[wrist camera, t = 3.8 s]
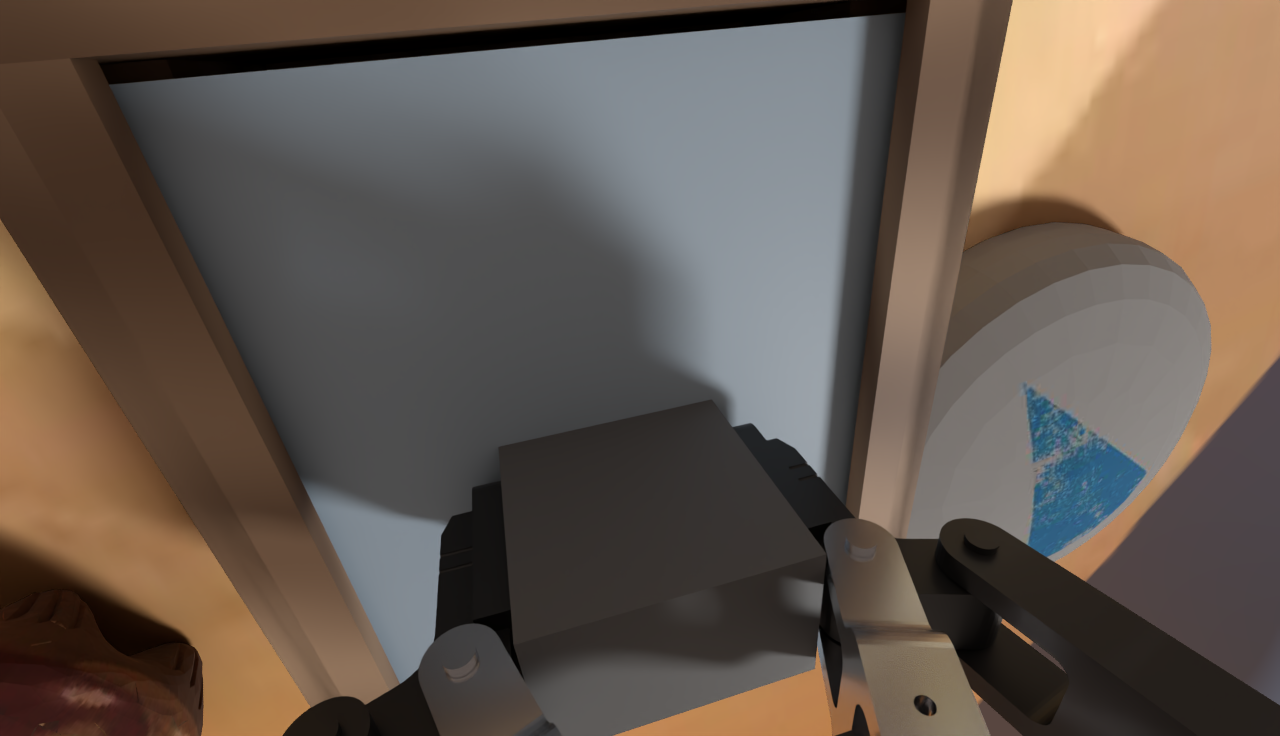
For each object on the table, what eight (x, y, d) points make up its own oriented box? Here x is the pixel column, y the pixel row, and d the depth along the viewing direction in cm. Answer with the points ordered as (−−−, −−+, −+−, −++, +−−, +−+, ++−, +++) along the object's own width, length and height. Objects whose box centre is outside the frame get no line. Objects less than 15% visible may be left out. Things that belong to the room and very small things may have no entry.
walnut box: (146, -29, 13) (-231, -146, 6) (796, -67, 16) (1046, -173, 9) (403, 584, 22) (374, 808, 15) (774, 488, 25) (886, 639, 18)
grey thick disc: (1105, 119, 21) (1264, 130, 17) (1170, 401, 31) (1283, 454, 26) (732, 428, 24) (791, 508, 19) (898, 605, 33) (962, 684, 29)
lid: (103, 87, 9) (-422, 106, 4) (893, 15, 11) (1242, -34, 6) (420, 733, 17) (399, 1009, 12) (826, 607, 20) (948, 790, 15)
